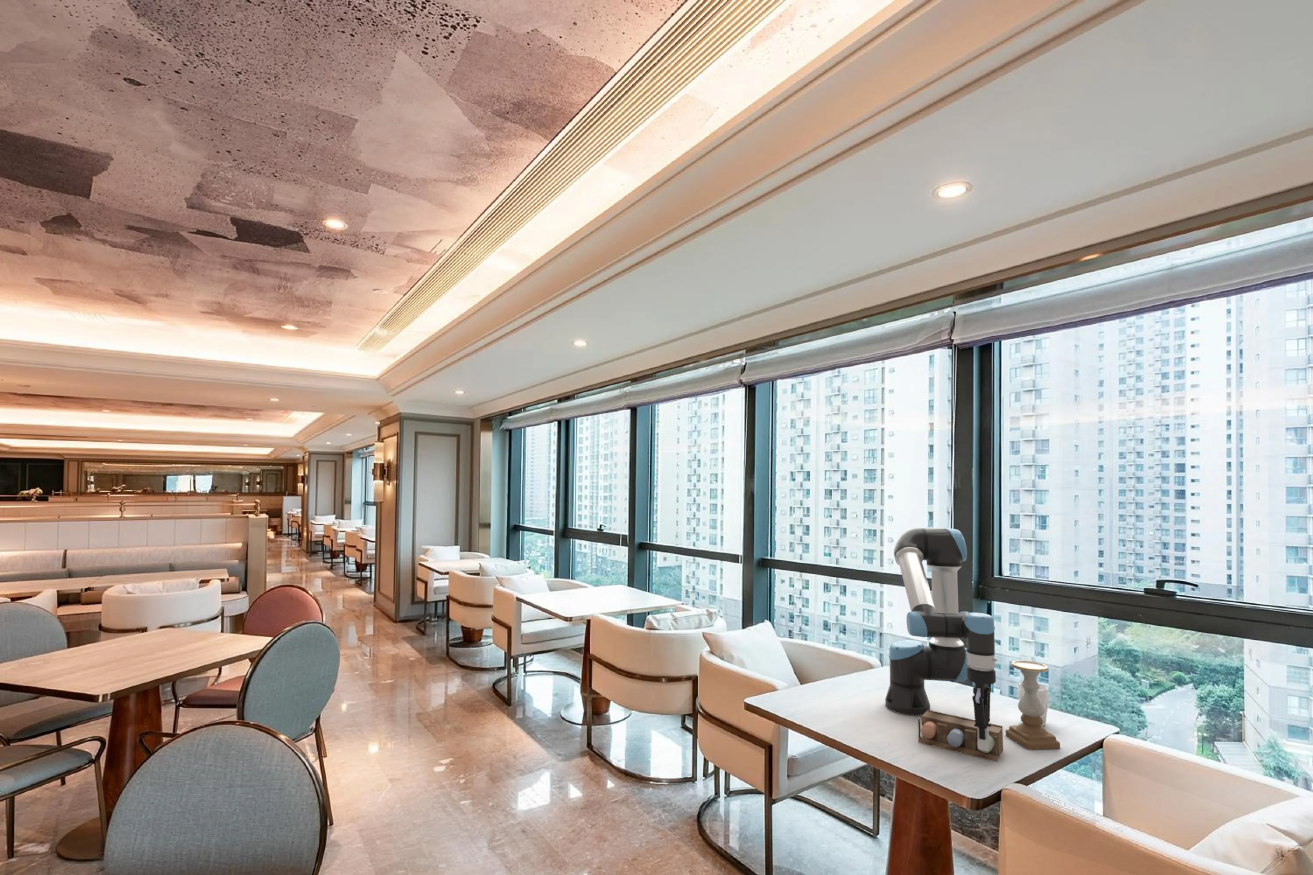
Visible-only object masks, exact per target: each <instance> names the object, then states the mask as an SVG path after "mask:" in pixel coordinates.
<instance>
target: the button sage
mask: <svg viewBox="0 0 1313 875" xmlns="http://www.w3.org/2000/svg"><path fill="white" fill-rule="evenodd" d="M994 744H995V743H994V739H993V738H992V737H991V736H990V735H989V751H984V750H980V749H979V750H980V751H982V752H984V753H989V752H990V751H991V750H992V748H993V746H994ZM977 747H978V741H977Z"/></svg>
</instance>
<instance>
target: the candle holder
mask: <svg viewBox="0 0 1313 875" xmlns="http://www.w3.org/2000/svg"><path fill="white" fill-rule="evenodd" d="M1011 666H1012V667H1013V668H1014V669H1016V670H1019V672H1020V673H1021V674H1022V675H1023V680H1022V681H1021V682H1020V683H1021V685H1022V686H1023V688H1024V691H1025V693H1024V695H1023V697H1022V698H1021V699H1020V701H1018V703H1017V708H1018V710H1019V711H1020V712H1021V716H1020V721H1021V722H1022V723H1019V724H1018V725H1010V726H1009V728H1008V729H1006V730H1005V736H1006V737H1007V738H1008V739H1010V740H1012V741H1013V742H1014V743H1016V744H1018V745H1019V746H1021V747H1022V748H1024V749H1025V750H1028V751H1029V750H1030V751H1031V750H1032V751H1034V750H1035V751H1037V750H1041V751H1042V750H1060V749H1061V742H1060V741H1058V740H1057V737H1056V735H1054V734H1053V733H1051V732H1049V731H1048V730H1046V729H1045V728H1044V727H1043V726H1041V725H1042V724H1043V720H1042V718H1041V717H1040V716H1041V715H1043V714H1044V712H1045V709H1044V706H1043V704H1042V702H1041V701H1040V699H1039V698H1038V696H1037V691H1038V689H1039V688H1040V686H1039V683H1038V679H1037V678H1038V676H1039V675H1040V674H1041V673H1046V672H1048V671H1049V666H1048V665H1046V664H1045V663H1042V662H1037V661H1031V660H1023V659H1022V660H1014V661H1011ZM1022 713H1023V714H1022Z"/></svg>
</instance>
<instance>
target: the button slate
mask: <svg viewBox="0 0 1313 875" xmlns="http://www.w3.org/2000/svg"><path fill="white" fill-rule="evenodd" d="M947 741H948V743H949V744H950V745H951V746H953V747H958V746H960V745H961V743H962V742H963V741H964V734H963V733H962V731H960V730H959V729H953V730H952V731H951V732H950V733H949V734H948V736H947Z"/></svg>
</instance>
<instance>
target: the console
mask: <svg viewBox="0 0 1313 875" xmlns="http://www.w3.org/2000/svg"><path fill="white" fill-rule="evenodd" d="M928 721H931V722H933V723H935V724H936V726H937V733H936V734H935V735H934V737H933V738H931V739H927V738H925V737H924V736H923V735H922V733H921V727H922V726H923V725H924V724H925V723H926V722H928ZM974 724H975V719H972V718H967V717H962V716H958V715H952V714H948V713H945V712H939V711H935V710H931V709H930V710H926V712H925V713H924V714H923V715H921V718H918V719H917V729H918V730H917V731H918V732H917V733H918V734H917V735H918V736H917V738H918V743H919V744H924V745H927V746H932V747H934V748H935V747H936V748H940V749H943V750H947V751H952V752H956V753H960V754H963V755H967V756H971V757H976V758H980V759H982V760H988V761H992V762H996V763H997V762H998V758H1000V757H1001V756H1002V754H1003V752H1004V730H1003V725H999V724H994V723H991V722H989V724H991V727H989V726H987V727H989V735H990V736H991V737H992V738H993V739H994V743H995V744H994V746H993V748H992V750H991V751H990V752H989V753H984V752H982V751H980V750H979V749H978V747H977V741H978V733H977V727H975V726H974ZM953 729H959V730H960V731H962V733H963V734H964V741H963V742H962V743H961V745H960V746H958V747H953V746H951V745H950V744H949V743H948V741H947V736H948V734H949V733H950V732H951V731H952V730H953Z"/></svg>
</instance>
